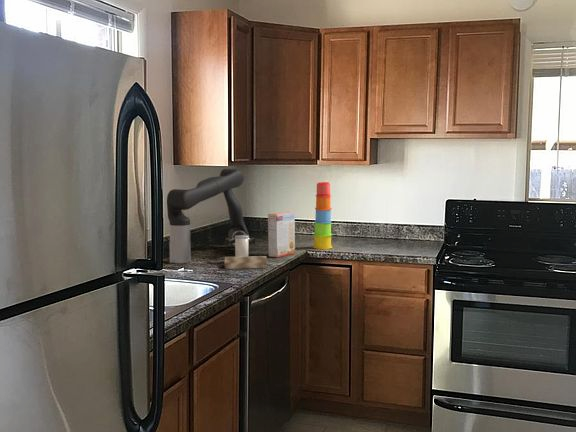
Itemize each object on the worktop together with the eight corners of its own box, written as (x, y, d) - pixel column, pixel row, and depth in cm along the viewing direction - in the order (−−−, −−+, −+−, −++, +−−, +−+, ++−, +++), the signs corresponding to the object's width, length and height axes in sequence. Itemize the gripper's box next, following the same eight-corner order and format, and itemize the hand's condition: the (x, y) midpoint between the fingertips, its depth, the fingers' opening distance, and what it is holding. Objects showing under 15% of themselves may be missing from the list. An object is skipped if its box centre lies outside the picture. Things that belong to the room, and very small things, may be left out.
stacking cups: (335, 247, 329) (336, 182, 325) (326, 249, 320) (326, 182, 317) (319, 245, 334) (319, 181, 331) (309, 248, 326) (309, 182, 323)
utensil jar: (235, 263, 281) (234, 236, 280) (234, 260, 288) (234, 235, 286) (249, 262, 282) (249, 236, 281) (248, 260, 288) (248, 234, 287)
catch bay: (224, 268, 267) (224, 257, 267) (224, 264, 278) (224, 253, 278) (266, 267, 269) (266, 256, 269) (264, 263, 280) (264, 252, 280)
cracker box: (286, 253, 310) (286, 211, 308) (295, 254, 306) (295, 212, 304) (267, 256, 299) (267, 213, 297) (277, 257, 296) (277, 214, 294)
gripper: (225, 231, 310) (225, 235, 294) (253, 231, 311) (255, 235, 295) (225, 246, 310) (225, 251, 294) (253, 245, 312) (255, 250, 296)
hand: (240, 243), depth 295 cm, fingers open, 8 cm apart
